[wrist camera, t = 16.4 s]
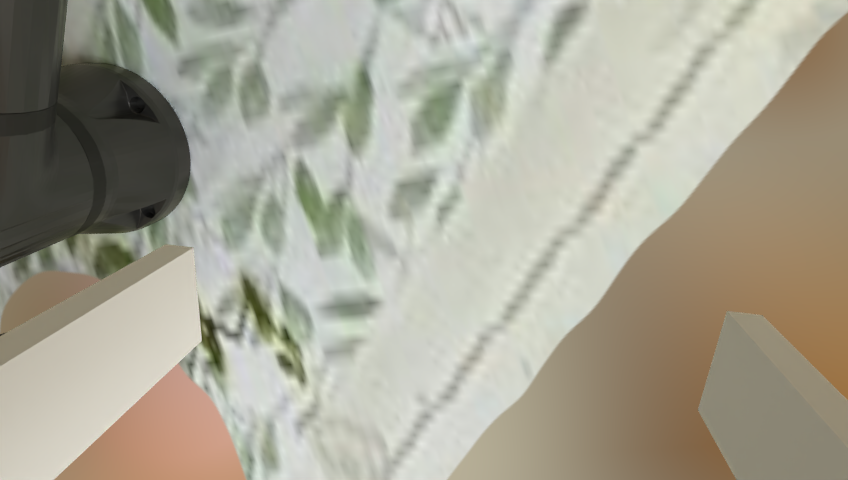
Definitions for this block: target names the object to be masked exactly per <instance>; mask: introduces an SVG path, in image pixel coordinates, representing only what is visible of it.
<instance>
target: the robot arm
mask: <svg viewBox="0 0 848 480" xmlns="http://www.w3.org/2000/svg"><path fill="white" fill-rule="evenodd" d="M67 2H68V0H0V267H2V266H4V265H7V264H9V263H11V262H14V261H16V260H18V259H21V258H23V257H25V256H28V255H30V254H32V253H34V252H37V251H39V250H41V249H44V248H46V247H48V246H51V245H53V244H55V243H57V242H60V241H62V240H64V239H66V238H69V237H71V236H74V235H76V234H101V233H126V232H131V231H136V230H139V229H142V228H144V227H146V226H149V225H151V224H153V223H155V222H157V221H159V220H161V219H163V218H164V217H166V216H167V215H168V214H170V213H171V212H172V211H173V210H174V209H175V208H176V206H177V205H178V204H179V202H180V201H181V199H182V197H183V195H184V193H185V191H186V188H187V185H188V181H189V176H190V152H189V146H188V142H187V138H186V135H185V132H184V129H183V127H182V125H181V123H180V120H179V119H178V117H177V115H176V113H175V112H174V110H173V108H172V107H171V106H170V104H169V103H168V102H167V100H166V99H165V98H164V97H163V96H162V94H161V93H160V92H159V91H158V90H157V89H156V88H154V87H153V86H152V85H151V84H150V83H148V82H147V81H146V80H144V79H143V78H141V77H140V76H138V75H136V74H135V73H133V72H131V71H129V70H126V69H124V68H121V67H118V66H114V65H109V64H99V63H94V64H72V65H67V66H63V67H61V62H62V52H63V42H64V32H65V22H66V12H67ZM201 341H202V339H201V327H200V316H199V305H198V293H197V282H196V271H195V259H194V248H192V247H184V246H176V245H167V244H166V245H164V246H162V247H160V248H158V249H157V250H155V251H153V252H151V253H149V254H148V255H146V256H144V257H142V258H140V259H139V260H137V261H135V262H133V263H131V264H130V265H128V266H126V267H124V268H122V269H120V270H119V271H117V272H115V273H113V274H111V275H110V276H108V277H106V278H104V279H102V280H101V281H99V282H97V283H95V284H93V285H92V286H90V287H88V288H86V289H84V290H83V291H81V292H79V293H77V294H76V295H74V296H72V297H70V298H68V299H66V300H65V301H63V302H61V303H59V304H58V305H56V306H54V307H52V308H50V309H48V310H46V311H45V312H43V313H41V314H39V315H37V316H36V317H34V318H32V319H30V320H29V321H27V322H25V323H23V324H21V325H19V326H18V327H16V328H14V329H12V330H11V331H9V332H6V333H3V334H0V480H54V479H55V478H56V477H57V476H58V475H59V474H60V473H61V472H62V471H63V470H64V469H66V468H67V467H68V466H69V465H70V464H71V463H72V462H73V461H74V460H75V459H76V458H77V457H78V456H79V455H81V454H82V453H83V452H84V451H85V450H86V449H87V448H88V447H89V446H90V445H91V444H92V443H93V442H94V441H95V440H96V439H98V438H99V437H100V436H101V435H102V434H103V433H104V432H105V431H106V430H107V429H108V428H109V427H110V426H111V425H112V424H113V423H114V422H116V421H117V420H118V419H119V418H120V417H121V416H122V415H123V414H124V413H125V412H126V411H127V410H128V409H130V407H132V406H133V405H134V404H135V403H136V402H137V401H138V400H139V399H140V398H141V397H142V396H143V395H144V394H145V393H146V392H147V391H149V390H150V389H151V388H152V387H153V386H154V385H155V384H156V383H157V382H158V381H159V380H160V379H161V378H162V377H164V376H165V375H166V374H167V373H168V372H169V371H170V370H171V369H172V368H173V367H174V366H175V365H176V364H177V363H178V362H180V361H181V360H182V359H183V358H184V357H185V356H186V355H187V354H188V353H189V352H190V351H191V350H192V349H193V348H194V347H196V346H197V345H198V344H199V343H200V342H201ZM698 411H699V413H700V415H701V416H702V418H703V420H704V422H705V424H706V426H707V427H708V429H709V431H710V433H711V434H712V436H713V438H714V440H715V442H716V444H717V445H718V447H719V449H720V451H721V453H722V454H723V456H724V458H725V460H726V462H727V464H728V465H729V467H730V469H731V471H732V473H733V474H734V476H735V478H736V480H848V400H847V399H846V398H845V397H844V396H843V395H842V394H841V393H840V392H838V390H837V389H836V388H835V387H834V386H833V385H832V384H831V383H830V382H828V381H827V379H826V378H825V377H823V375H822V374H821V373H819V371H818V370H817V369H816V368H815V367H813V365H812V364H811V363H810V362H809V361H808V360H807V359H805V357H803V355H801V353H800V352H799V351H798V350H797V349H796V348H794V346H793V345H792V344H791V343H789V341H787V340H786V339H785V337H783V335H781V334H780V333H779V332H778V331H777V330H776V329H775V328H774V327H773V326H772V325H771V324H770V323H769V322H768V321H767V320H766V319H765V318H764V317H763V316H762V315H756V314H747V313H739V312H730V311H727V313H726V316H725V320H724V323H723V327H722V330H721V334H720V337H719V340H718V344H717V347H716V350H715V354H714V357H713V361H712V364H711V367H710V371H709V375H708V378H707V381H706V384H705V388H704V391H703V395H702V398H701V402H700V405H699V408H698Z"/></svg>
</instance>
